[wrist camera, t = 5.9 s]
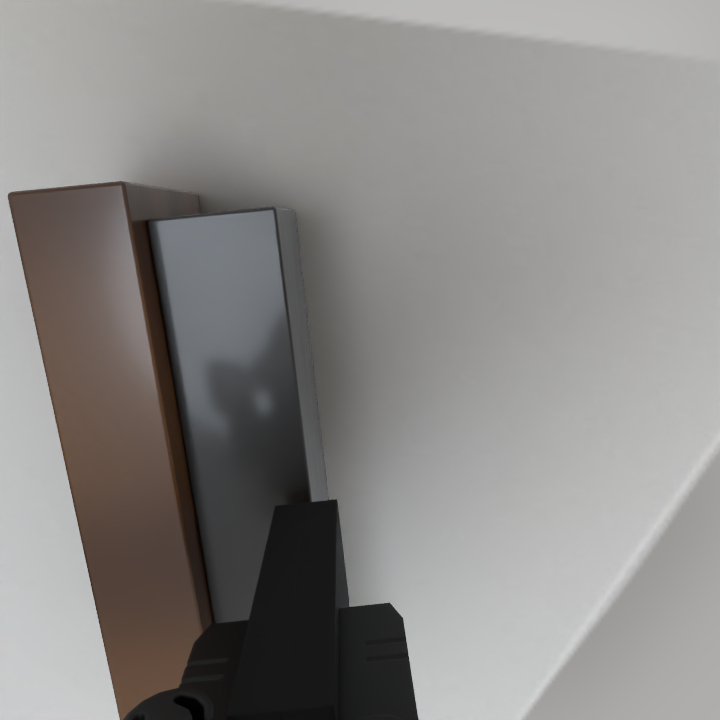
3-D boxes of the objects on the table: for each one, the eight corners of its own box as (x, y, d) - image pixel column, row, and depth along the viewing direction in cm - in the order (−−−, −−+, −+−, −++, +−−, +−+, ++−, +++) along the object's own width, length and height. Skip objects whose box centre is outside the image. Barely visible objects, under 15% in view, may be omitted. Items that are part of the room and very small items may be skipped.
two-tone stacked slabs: (119, 200, 20) (5, 192, 13) (292, 183, 20) (266, 166, 13) (205, 684, 24) (150, 870, 17) (348, 669, 24) (350, 849, 17)
